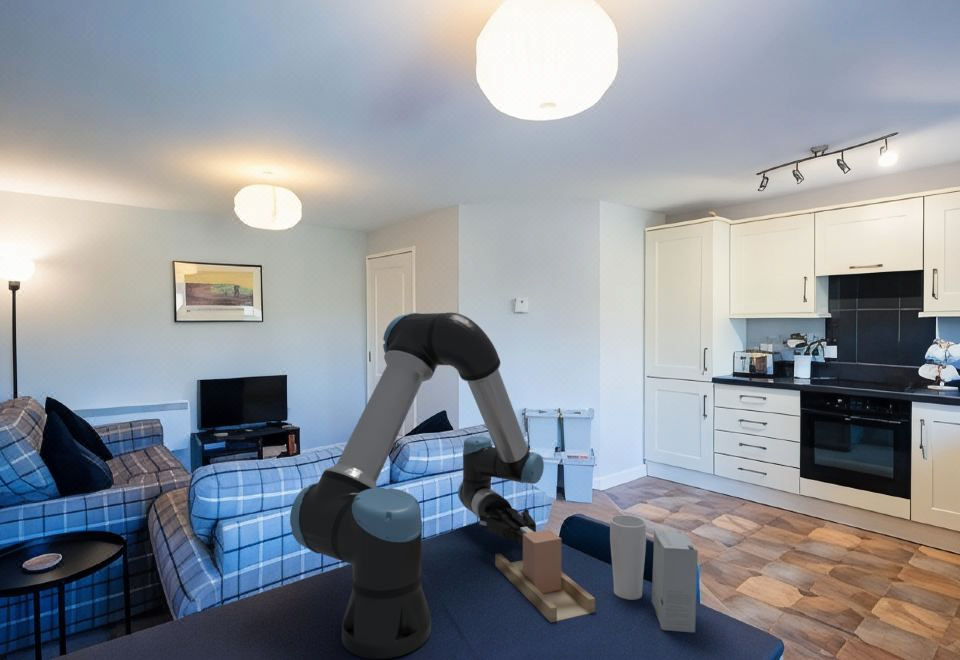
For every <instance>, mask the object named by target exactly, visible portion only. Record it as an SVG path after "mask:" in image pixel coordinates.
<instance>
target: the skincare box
mask: <svg viewBox="0 0 960 660" xmlns="http://www.w3.org/2000/svg"><path fill="white" fill-rule="evenodd" d="M653 534H654V535H653V558H652V560H653V561H652V585H651V586H652V587H651V590H652V591H651V603H652V605H653V608H654V610H655V611H654V613H655V615H656V617H657V620H658V623H659V625H660V628H661V630H662V631H669V632H670V631H672V632H681V633H682V632H683V633H696V618H697V617H696V614H697V613H696V611H697V587H698V586H697V585H698V584H697V583H698V553H699V551H698V549H697V548H696V547H695V545H694V544H693V542H692V539H691V538H689V536H687V534H686V532H684V531H683V530H668V529H667V530H665V529H653Z"/></svg>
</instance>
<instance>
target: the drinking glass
mask: <svg viewBox="0 0 960 660" xmlns="http://www.w3.org/2000/svg"><path fill="white" fill-rule="evenodd" d="M646 528H647V526H646V521H645V520H644V519H642V518H640V517H638V516H634V515H629V514H628V515H627V514H626V515H625V514H620V515H619V514H618V515H614V516H612V517H610V523H609V542H610V556H611V565H612V576H613V577H612V578H613V579H612V581H613V593H614V594H615V595H616V597H619V598H621V599H625V600H638V599H641V598H642V596H643V584H644V581H643V580H644V571H645V560H646V559H645V558H646V547H647V529H646Z"/></svg>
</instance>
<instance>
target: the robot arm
mask: <svg viewBox="0 0 960 660" xmlns="http://www.w3.org/2000/svg"><path fill="white" fill-rule="evenodd" d="M382 338H383V339H382V340H383V341H384V343H383V345H382V348H383V351H384V355H383V359H384V361H385V364H386V366H385V369H383V370H384V371H383V372H382V375H381V376H380V379H379V380H378V382H377V384H376V385H375V387H374V390H373V392H372V394H371V396H370V398H369V400H368V401H367V404H366V405H365V408H364V409H363V411H362V414H361V415H360V417H359V419H358V421H357V423H356V425H355V427H354V429H353V431H352V433H351V435H350V437H349V439H348V441H347V443H346V445H345V447H344V449H343V451H342V453H341V454H340V457H339V459H338V460H337V461H336V464H335V465H333V466H331V467H329V468H326V469H324V471H323V473H322V475H321V476H320V479H319V480H318V482H314V483H312V484H309V485H308V486H307V487H304V488H302V489H301V491H300V492H299V493H298V494H297V496H296V497H295V499H294V500H293V503H292V507H291V510H290V516H289V524H290V527H291V533H292V536H293V537H294V539H295V541H296V542H297V543H298V544H299V545H300V546H301V547H304V548H307V549H308V550H309V551H311V552H314V553H315V554H318V555H319V554H321V555H324V556H327V557H330V558H333V559H336V560H339V561H341V562H344V563H347V564H350V565H351V566H352V589H351V594H350V598H349V601H348V603H347V606H346V610H345V613H344V616H343V619H342V623H341V642H342V645H343V647H344V648H345V649H346V650H347V651H349V653H351V654H353V655H355V656H357V657H359V658H365V659H371V660H386V659H394V658H397V657H402V656H404V655H407V654H410V653H412V652H414V651H416V650H417V649H419V648H421V647H422V646H423V645H424V644H425V643H426V642H427V641H428V639H429V637H430V635H431V632H432V617H431V615H432V614H431V611H430V609H429V608H430V607H429V605H428V601H427V599H426V596H425V593H424V589H423V586H422V542H423V540H422V537H423V533H422V532H423V531H422V530H423V521H422V513H421V512H422V509H421V505H420V502H419V501H418V499H417V498H416V497H415V496H413V495H412V494H410V493H408V492H407V491H404V490H401V489H397V488H390V487H389V488H385V487H378V486H377V481H378V479H379V477H380V475H381V472H382V470H383V468H384V466H385V464H386V462H387V460H388V457H389V455H390V453H391V451H392V449H393V446H394V445H395V442H396V440H397V437H398V435H399V433H400V431H401V429H402V427H403V425H404V422H405V420H406V419H407V415H408V413H409V412H410V409H411V407H412V406H413V403H414V400H415V399H416V397H417V394H418V391H419V390H420V387H421V386H422V384H423V382H426V381H429V380H431V379H432V378H433V376H434V374H435V372H436V369H437V367H438V366H451V367H452V368H454V369H456V371H457V372H458V375H459V377H460V378H461V380H463V381H464V382H467V385H468V387H469V389H470V392H471V394H472V396H473V399H474V400H475V403H476V405H477V408H478V410H479V413H480V415H481V417H482V420H483V422H484V425H485V426H486V429H487V432H488V434H489V436H490V437H486V436H481V435H480V436H479V435H478V436H469V437H467V438H465V439H464V440H463V447H462V449H463V451H462V467H463V468H462V482H461V483H460V485H458V490H457V496H458V499H459V501H460V502H461V504H462V505H463V507H465V509H467V510H469V511H470V512H471V513H473V515H475V516H476V517H477V518H478V519H479V529H483V530H487V531H488V532H491V533H493V534H494V535H497V536H499V537H500V538H502V539H505V540H508V541H509V540H511V538H512V539H513V542H514V543H515V544H519V543H522V544H523V534H525V533H531V532H537V523H536V522H535V520H534V518H533V517H532V516H531V514H530V510H529V509H523V510H522V511H521V512H520V511H519V510H517V509H516V508H512V506H511V504H510V502H509V501H508V499H506V498H504V497H503V496H502V495H501V494H499V493H498V492H496V491H494V490H492V478H496V479H502V480H508V481H511V482H517V483H520V484H530V485H531V484H534V485H535V484H537V483H538V482H539V481H540V480H541V478H542V476H543V474H544V469H545V468H544V467H545V465H544V460H543V457H542V455H540V454H539V453H537V452H534V451H532V452H531V451H530V449H529V447H528V444H527V442H526V440H525V437H524V434H523V431H522V429H521V426H520V423H519V421H518V418H517V415H516V413H515V410H514V408H513V405H512V404H513V403H512V402H511V399H510V397H509V394H508V391H507V388H506V386H505V384H504V380H503V378H502V376H501V372H500V367H501V359H500V357H499V354H498V352H497V350H496V348H495V347H496V346H495V345H494V344H493V342H492V340H491V339H490V338H489V336H488V335H487V334H486V332H485V331H484V330H483V329H482V328H481V327H480V326H479V325H478V324H477V323H476V322H475V321H473V320H472V319H471V318H469V317H468V316H465V315H463V314H461V313H459V312H458V313H457V312H438V313H433V312H432V313H419V312H412V313H408V314H402V315H399V316H397V317H395V318H393V319H392V320H391V321H390V323H389V324H388V325H387V327H386V329H385V331H384V334H383V337H382Z"/></svg>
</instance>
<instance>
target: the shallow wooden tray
mask: <svg viewBox="0 0 960 660" xmlns="http://www.w3.org/2000/svg"><path fill="white" fill-rule="evenodd" d="M494 557H495V558H494V559H495V567H496V568H497V569H498V570H499V571H500V572H501V573H502V574H503V575H504V577H506V578H507V579H508V580H509V582H511V583H512V584H513V586H515V588H517V590H518V591H519V592H521V593H522V594H523V596H524V597H525V598H526V599H528V601H529V602H530V603H531V604H532V605H534V607H535V608H536V609H537V610H538V611H539V612H540V613H541V614H542V615H543V616H544V617H545V618H546V619H547V620H548V621H549V622H550V623H555V622H560V621H563V620H568V619H571V618H572V619H573V618H576V617H579V616H580V617H581V616H585V615H588V614H593V613H595V612H596V598H595V597H594V596H593V595H592V594H591V593H589V592H588V591H587V590H585V589H584V588H583V587H582V586H581V585H579V584H578V583H576V582H575V581H574V580H573V579H571V578H570V577H569V576H568V575H567V574H566V573H564V572H563V570H561V590H557V591H552V592H548V593H543V594H542V593H541V592H540V591H539V590H538V589H537V588H536V587H535V586H534V585H533V584H532V583H531V582H530V581H529V580H528V579H527V578H526V577H525V576H524V575H523V559H522V560H518V561H517V560H515V561H512V562H510V560H508V559H507V558H506V557H505V556H504V555H502V553H495V556H494Z"/></svg>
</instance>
